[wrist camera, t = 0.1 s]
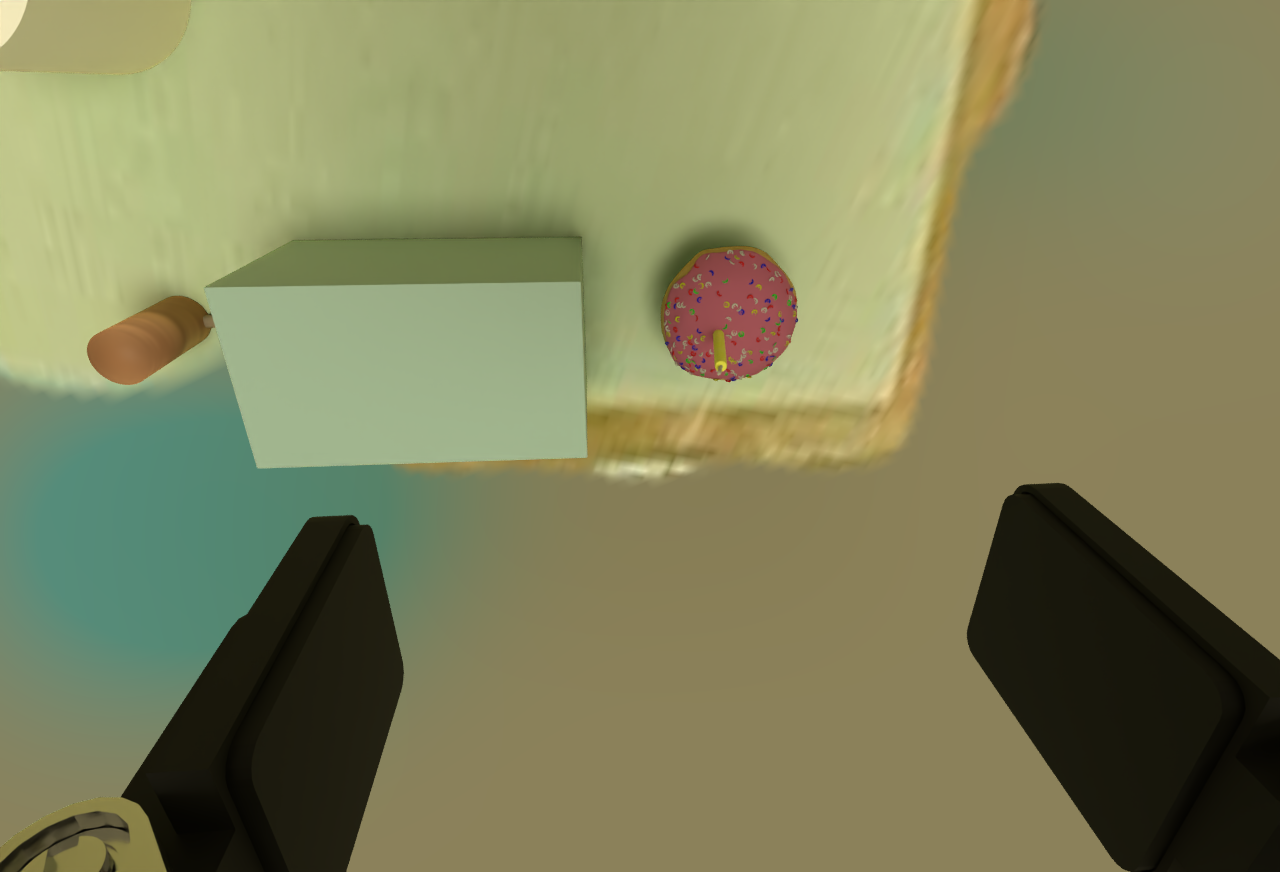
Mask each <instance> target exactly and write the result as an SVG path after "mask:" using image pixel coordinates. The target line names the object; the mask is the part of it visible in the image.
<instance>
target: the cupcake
mask: <svg viewBox="0 0 1280 872" xmlns="http://www.w3.org/2000/svg"><path fill="white" fill-rule="evenodd" d="M797 308H798V306H797V298H796V293H795V289H794V286H793V284H792V282H791V281H790V279H789V278H788V276H787V275H786V274H785V272H784V271H783V270H782V269H781V268H780V267H779V266H778V264H777V263H776V262H775V261H774V260H773V259H772V258H771V257H770V256H769V255H768V254H767V253H765V252H764V251H762V250H760V249H757V248H754V247H747V246H733V247H721V248H713V249H707V250H703V251H701V252H699V253H698V254H696V255H695V256H694V257H693V258H692V259H691V260H690V261H689V262H688V263H687V264H686V265H685V266H684V267H683V268H682V269H681V271H680V272H679V273H678V274H677V275H676V277H675V278H674V279H673V281H672V282H671V283H670V285H669V287H668V289H667V291H666V293H665V295H664V298H663V302H662V306H661V328H662V333H663V336H664V339H665V344H666V345H667V347H668V349H669V351H670V354H671V356H672V358H673V360H674V361H675V364H676V363H677V364H676V365H677V366H680V367H681V368H682V369H683V370H685V371H687V372H689V373H690V374H691V375H696V376H701V377H705V378H711V379H713V380H715V379H717V380H725V381H726V382H731V381H735V380H736V379H742V378H745V377H747V378H751V376H752V375H755V374H757V373H759V372H760V371H762V370H763V369H764V370H765V369H767V367H768V366H769V367H770V366H772V364H773V362H774V361H775V360H776V359H777V358H778V357H779V356H780V355H781V354H782V353H783V352H784V350H785V349H786V348H787V346H788V344H789V343H790V342H791V336H792V334H793V331H794V328H795V324H796V322H798V319H797ZM796 320H797V321H796ZM770 364H771V365H770ZM717 380H715V381H717Z"/></svg>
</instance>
